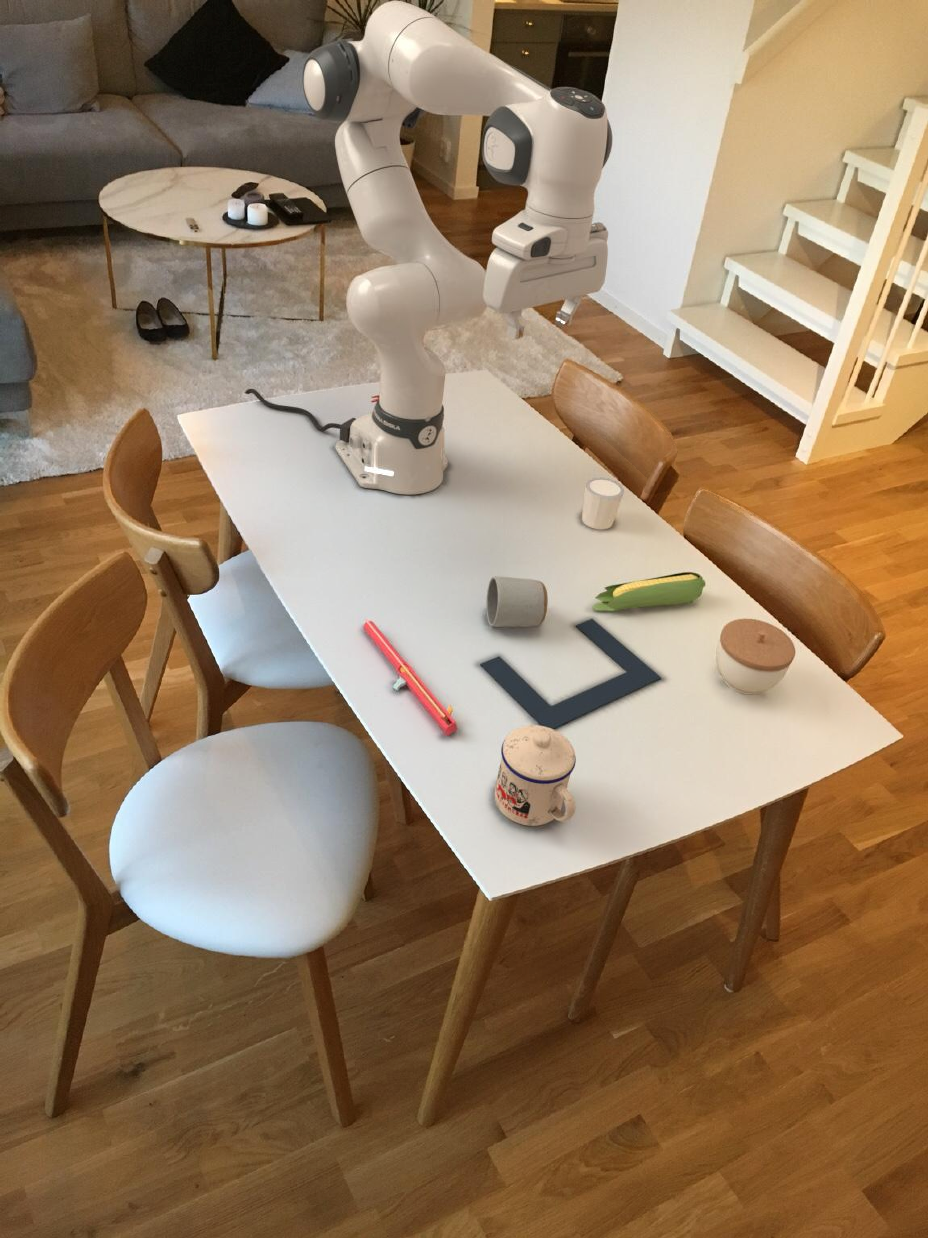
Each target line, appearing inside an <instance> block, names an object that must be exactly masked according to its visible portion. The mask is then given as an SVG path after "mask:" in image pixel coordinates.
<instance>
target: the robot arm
mask: <svg viewBox="0 0 928 1238" xmlns="http://www.w3.org/2000/svg"><path fill="white" fill-rule="evenodd" d="M367 20H368V21H367V23H366V26H365V30H364V35H363V38H362V39H361V40H354V41H353V40H352V41H347V40H346V39H345V38H342V39H339V40H337V41H333V42H330V43H327V44H325V45H324V44H323V45H322V46H319V47H317V48H315V49H314V50H312V51H311V52H310V53H309V55H308V57H307V58H306V60H305V62H304V65H303V69H302V89H303V94H304V98H305V101H306V103H307V106H308V107H309V109H310V110H311V112H312V114H314V116H315V117H316V118H317V119H319V120H322V121H325V122H330V123H335V124H336V123H337V124H341V125H339V127H338V129H337V131H336V133H335V136H334V148H335V154H336V161H337V165H338V170H339V173H340V177H341V181H342V184H343V185H342V186H343V187H344V191H345V193H346V196H347V199H348V202H349V205H350V207H351V210H352V212H353V216H354V219H355V222H356V224H357V226H358V230H359V232H360V235H361V237H362V239H363V240H364V242H365V243H366V244H367V245H368V246H369V247H370V248H371V249H372V250H375V251H377V252H379V253H381V254H383V255H386V256H387V257H389V258H390V259H391V260H392V261H394V262H395V263H396V264H391V265H383V266H379V267H376V268H374V269H371V270H368V271H366V272H363V273H362V274H359V275H357V276H355V277H354V278H353V279H352V280H351V282H350V284H349V286H348V289H347V292H346V298H345V299H346V300H345V301H346V302H345V304H346V312H347V315H348V318H349V321H350V322H351V325H353V327H354V328H355V329H356V330H357V332H359V333H360V334H361V336H363V337H365V338H366V339H368V340H369V341H370V343H371V344H372V345H373V346H374V348H375V351H376V353H377V356H378V360H379V394H377V395H372V396H370V399H372V400H370V403H375V405H374V407H373V410H372V411H370V412H368V413H366V414H364V415H361V416H359V417H357V418H356V417H352V418H350V419H349V420H346V421H345V422H342V423H341V424H340V423H335V422H332V423H331V422H329V423H327V424H324V425H323V426H322V425H321V424H320V423H319V422H318V420H317V419H316V417H315V416H314V415H313V414H312V413H311V412H310V411H308V410H307V409H304V408H301V407H298V406H290V405H281V404H275V403H272V402H270V401H268V400H267V399H265V398H264V397H263V395H261V394H260V392H258V391H257V390H256V389H254V388H248V389H246V390H245V391H244V394H246V395H250V394H252V395H254V396H255V398H257V399H258V401H260V403H262V404H263V405H264V406H266V407H268V408H271V409H273V410H274V409H275V410H278V411H279V410H280V411H288V412H294V413H295V412H296V413H299V414H303V415H305V416H307V417H308V418H309V419H310V421H311V422H312V424H313V426H314V427H315V428H316V429H317V430H318V431H321V432H325V431H327V430H329V429H338V430H339V440H338V441H337V442H336V443H335V451H336V452H337V453H338V455H339V456H340V457H339V458H341V460H342V461H343V463H344V464H345V466H346V467H347V468H348V470H349V472H350V473H351V474H352V476H353V478H354V479H355V481H356V483H358V485H359V486H360V487H362V488H365V489H374V490H381V491H385V492H388V493H392V494H397V495H420V494H425V493H428V492H431V491H433V490H435V489H437V488H438V487H439V486H440V485H441V484H442V483H443V481H444V471H445V470H446V469H447V467H448V459H447V458H446V457H445V428H444V426H443V425H444V420H445V407H444V404H443V402H444V391H445V383H446V373H447V371H446V367H445V364H444V362H443V361H442V359H441V357H440V356H439V355H438V354H437V353H436V352H435V351H433V350H431V349H430V348H428V347H426V346H425V345H424V340H425V336H426V333H428V332H431V331H436V330H441V329H447V328H452V327H459V326H461V325H464V324H466V323H468V322H470V321H473V320H474V319H476V318H478V317H480V316H482V315H483V314H484V312H485V311H486V310H487V308H489V309H491V310H492V311H495V312H496V313H498V314H500V315H503V316H504V318H505V321H506V323H507V328H506V336H507V338H509V339H511V340H513V341H515V340H519V339H522V338H523V337H524V332H525V326H524V325H523V324H520V320H519V318H520V317H521V316H522V312H523V310H525V309H526V310H527V309H530V308H535V307H538V306H544V305H548V304H552V303H556V302H560V301H564V303H563V304H562V307H561V309H560V310H558V311H556V313H555V314H556V315H555V317H556V318H555V321H554V322H555V324H556V326H559V327H560V328H565V327H569V326H571V325H572V320H573V316H574V314H575V313H576V311H577V309H578V308H579V306H580V305H581V303H582V299H583V296H586V295H589V294H590V295H591V294H594V293H598V292H600V290H601V289H602V287H603V286H604V284H605V282H606V281H605V280H606V275H607V267H608V255H609V247H608V239H609V231H608V229H607V226H605V225H604V223H603V222H599V221H598V222H594V223H593V219H594V213H595V193H596V189H597V187H598V184H599V182H600V180H601V177H602V172H603V169H604V168H605V166H606V164H607V162H608V160H609V158H610V155H611V153H612V148H613V130H612V126H611V123H610V121H609V118H608V113H607V108H606V105H605V103H604V102H602V101H601V99H599V98H598V97H597V96H596V95H594V94H593V93H591V92H589V91H586V90H582V89H579V88H577V87H571V86H559V87H554V88H551V87H550V86H547V85H546V84H544V83H543V82H540V81H539V80H538V79H536V78H534V77H533V76H531V75H529V74H527V73H526V72H524V71H523V70H521V69H519V68H517V67H515V66H513V65H511V64H509V63H507V62H506V61H504V60H503V59H500V58H498V57H497V56H495V55H494V54H492V53H491V52H489V51H487V50H485V49H484V48H481V47H480V46H478V45H477V44H475V43H473V42H472V41H471V40H470V39H468V38H466V37H465V36H463V35H461V34H460V33H458V32H457V31H456V30H454V29H453V28H452V27H450V26H449V25H447V24H446V23H445V22H443V21H442V20H441V19H439V18H438V17H437V16H435V15H434V14H432V13H430V12H429V11H427V10H425V9H423V8H421V7H419V6H416V5H414V4H411V3H409V2H405V1H402V0H390V1H387V2H384V3H382V4H381V5H379V6H378V7H377V8H376V9H375V10H373V12H372V14H370V17H369V18H368V19H367ZM427 112H428V113H430V114H434V115H441V116H442V115H443V116H482V117H488V119H487V121H486V123H485V126H484V129H483V132H482V137H481V156H482V161H483V164H484V166H485V168H486V170H487V171H488V173H489V174H490V175H491V177H492V178H494V179H495V180H496V181H497V182H498V183H501V184H504V185H509V186H521V187H523V188H525V189H526V190H527V198H526V201H525V208H524V209H523V210H520V211H519V212H518V213H517V214H516V215H514V216H512V217H511V218H509V219H508V220H506V221H505V222H503V223H501V224H499V225H498V226H496V227H495V228H494V229H493V231H492V235H491V243H492V244H493V245H494V246H496V248H494V249H493V251H492V252H491V253H490V255H489V257H488V261H487V265H486V270H485V269H484V267H483V266H482V265H481V264H480V262H478V261H477V260H475V259H473V258H470V257H468V256H467V255H465V254H464V253H462V252H461V251H460V250H458V249H457V248H456V247H454V246H453V245H452V244H451V242H449V241H448V239H447V238H446V237H445V236H444V235H443V234H442V233H441V231H439V229H438V227H437V226H436V225H435V223H434V222H433V221H432V219H431V217H430V216H429V214H428V212H427V210H426V207H425V205H424V203H423V200H422V197H421V195H420V193H419V190H418V188H417V185H416V182H415V180H414V177H413V175H412V172H411V169H410V166H409V164H408V161H407V159H406V157H405V154H404V152H403V148H402V145H401V140H400V139H401V138H400V134H401V128H402V127H403V128H404V129H407V130H412V129H415V128H416V127H417V126H418V123H419V121H420V119H421V118H423V116H424V115H425V114H427Z"/></svg>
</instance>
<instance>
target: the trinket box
mask: <svg viewBox="0 0 928 1238" xmlns="http://www.w3.org/2000/svg"><path fill="white" fill-rule="evenodd" d="M720 632H721V633H720V636H719V640H718V644H717V648H716V655H715V660H716V662H715V663H716V668H717V671H718V673H719V675H720V676H721V678H722V679H723V681H724V683H725V684H726V686H728V687H729V689H731V690H732V691H734V692H736V693H738V694H742V695H748V696H749V695H751V696H752V695H758V694H760V693H764V692H767V691H769V690H771V689H772V688H774V687H776V686H777V685H778V684H779V683H780V682H781V680H782V679H783V678H784V677H785V675H786V674H787V672H788V670H789V668H790V666H791V664H792V663H793V661H794V659H795V656H796V647H795V644H794V642H793V640H792V639H791V638H790V637H789V636H788V634H787V633H786V632H784V631H783V630H782V629H780V628H779V627H777V626H775V625H773V624H771V623H769V622H767V621H764V620H759V619H755V618H738V619H734V620H731V621H729V622H727V623H726V624H725V625H724V626H723V628H722V630H721V631H720Z"/></svg>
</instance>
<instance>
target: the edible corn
mask: <svg viewBox="0 0 928 1238" xmlns="http://www.w3.org/2000/svg"><path fill="white" fill-rule="evenodd" d="M705 587H706V580H705V579H703V576H702V575H701V574H699V573H696V572H692V571H683V572H679V573H672V574H667V575H663V576H662V575H661V576H656V577H652V578H645V579H640V580H635V581H629V582H622V583H617V584H611V585H607V586H605V587H604V590H605V591H603V592H600V593H599V594H597V596H595V597H594V598H595V599H596V600H598V601H599V602H598V603H596V604H594V605H593V606H592V607H591V609H592V610H596V611H620V610H628V609H636V608H637V609H639V608H640V609H641V608H652V607H665V606H666V607H668V606H677V605H678V606H679V605H684V604H685V605H686V604H690V603H694V602H695V601H696V600H698V599H699V598H700V597H701V596H702V593H703V590H704V588H705Z"/></svg>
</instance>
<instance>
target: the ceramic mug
mask: <svg viewBox="0 0 928 1238" xmlns="http://www.w3.org/2000/svg"><path fill="white" fill-rule="evenodd" d="M548 600H549V598H548V591H547V586H546V585H545V584H544V583H543V582H542V581H541V580H537V579H534V578H533V579H532V578H519V577H511V576H510V577H509V576H500V575H499V576H498V575H497V576H496V575H494V576H492V577H491V578H490V580H489V582H488V586H487V591H486V616H487V622H488V624H489V626H490V627H492V628H520V627H521V628H531V627H537V626H541V625H542V624H543V623H544V621H545V619H546V616H547V612H548V606H549V605H548V604H549V603H548V602H549V601H548Z"/></svg>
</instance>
